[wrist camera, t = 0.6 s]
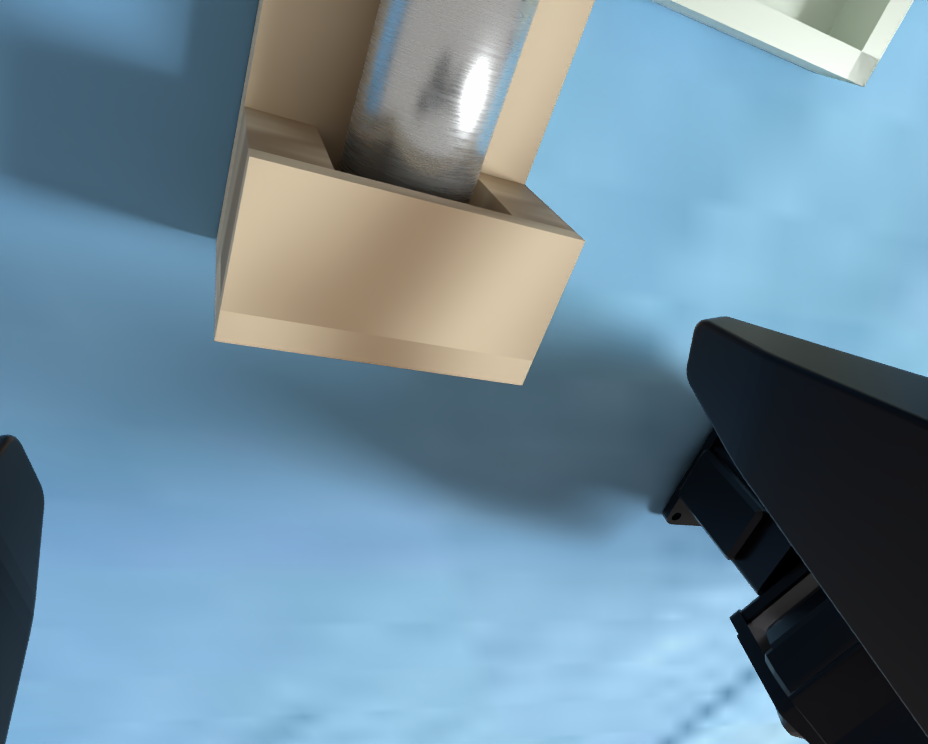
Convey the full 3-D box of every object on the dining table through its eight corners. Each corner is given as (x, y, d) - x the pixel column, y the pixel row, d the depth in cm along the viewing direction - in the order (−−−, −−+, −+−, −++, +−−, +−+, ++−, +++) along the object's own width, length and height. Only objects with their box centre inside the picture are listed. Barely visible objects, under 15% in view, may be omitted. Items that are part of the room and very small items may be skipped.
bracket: (622, -150, 18) (765, -169, 13) (462, 289, 24) (521, 385, 19) (315, -317, 15) (359, -421, 10) (216, 240, 20) (214, 341, 16)
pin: (571, -194, 16) (643, -214, 13) (426, 249, 21) (456, 300, 18) (433, -270, 14) (481, -311, 12) (312, 223, 19) (327, 275, 17)
